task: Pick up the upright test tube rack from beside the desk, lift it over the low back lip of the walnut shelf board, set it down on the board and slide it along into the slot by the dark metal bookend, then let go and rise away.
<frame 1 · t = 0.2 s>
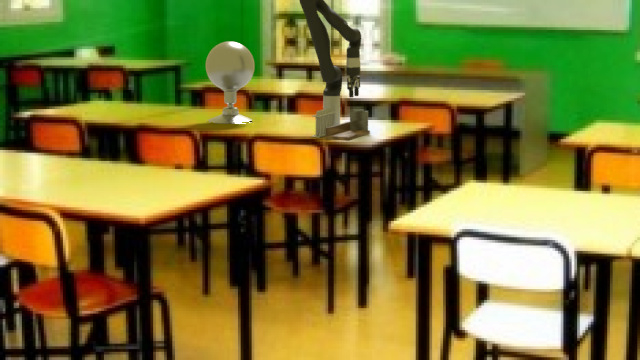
hand: (353, 96, 541), 17 cm above the table, tool pointing down, fingers open, 8 cm apart
test tube rack: (324, 135, 517), on the table
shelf: (348, 136, 513), on the table
desk lamp: (230, 121, 578), on the table
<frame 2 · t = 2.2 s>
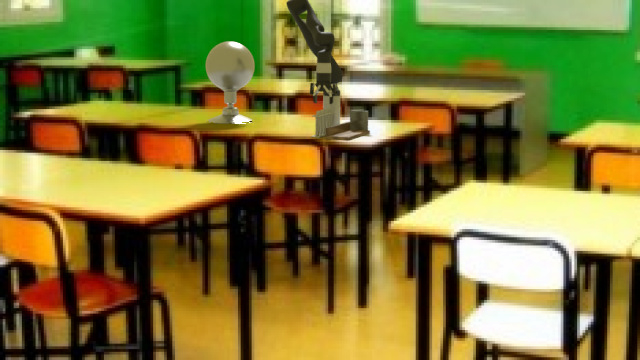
hand: (323, 103, 515), 16 cm above the table, tool pointing down, fingers open, 8 cm apart
nothing on the table moved.
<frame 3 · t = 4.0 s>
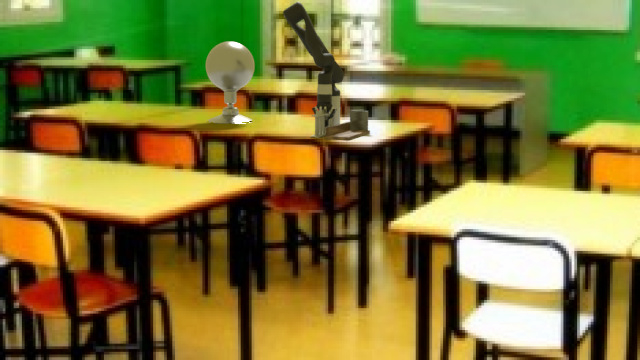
hand: (324, 126, 516), 4 cm above the table, tool pointing down, fingers closed on test tube rack
test tube rack: (323, 135, 517), on the table, touching gripper
everything else where it was.
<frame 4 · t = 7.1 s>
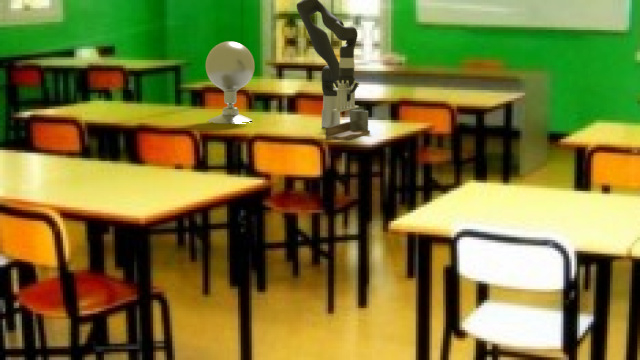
hand: (346, 101, 509), 18 cm above the table, tool pointing down, fingers closed on test tube rack
test tube rack: (345, 109, 509), point 14 cm above the table, touching gripper
everything else where it was.
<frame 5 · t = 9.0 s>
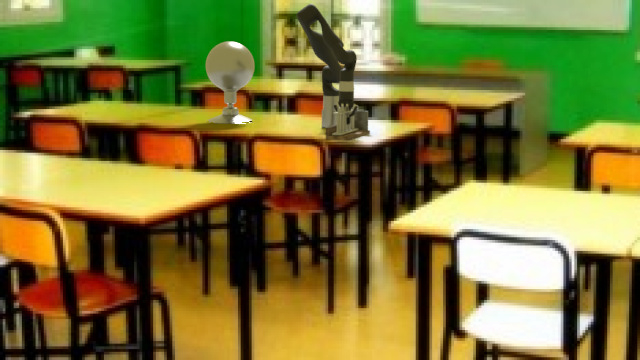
hand: (346, 124, 510), 6 cm above the table, tool pointing down, fingers closed on test tube rack
test tube rack: (345, 132, 511), point 2 cm above the table, touching gripper
everything else where it was.
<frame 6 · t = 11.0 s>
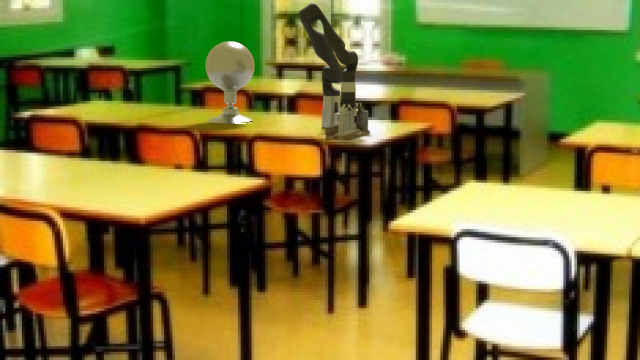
hand: (347, 122, 512), 7 cm above the table, tool pointing down, fingers open, 8 cm apart
test tube rack: (347, 133, 513), point 1 cm above the table, touching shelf
everything else where it was.
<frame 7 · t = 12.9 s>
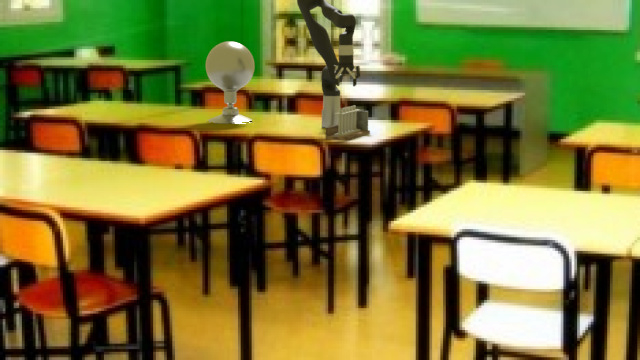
hand: (346, 86, 513), 25 cm above the table, tool pointing down, fingers open, 8 cm apart
nothing on the table moved.
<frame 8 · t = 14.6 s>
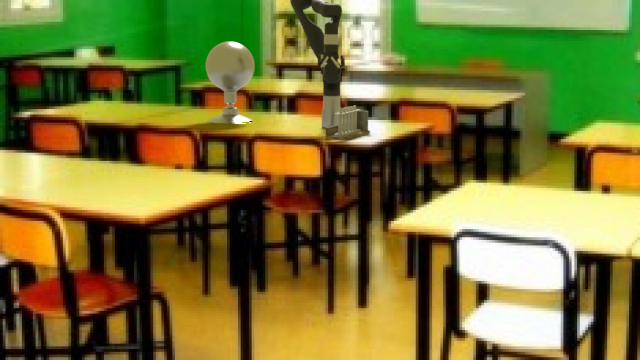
hand: (331, 75, 517), 30 cm above the table, tool pointing down, fingers open, 8 cm apart
nothing on the table moved.
at the end: test tube rack 0.4 cm from the target spot, point 1.3 cm above the table; test tube rack tilted 0°; the gripper is holding nothing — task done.
